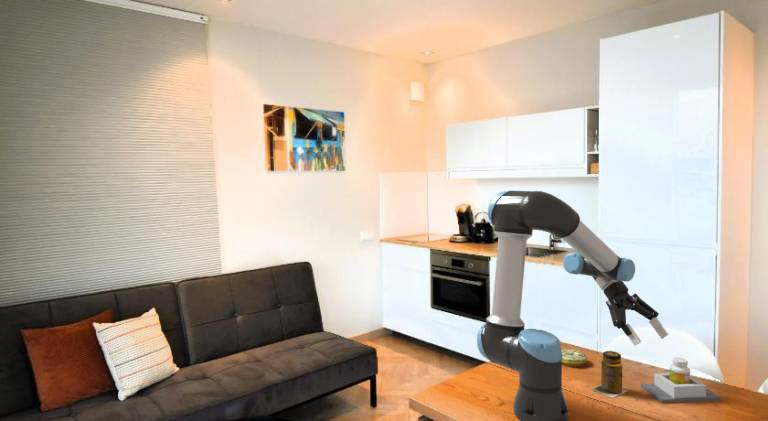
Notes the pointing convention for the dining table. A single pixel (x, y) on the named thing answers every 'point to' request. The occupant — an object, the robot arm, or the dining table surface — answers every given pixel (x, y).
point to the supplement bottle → (679, 371)
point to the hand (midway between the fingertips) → (651, 340)
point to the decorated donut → (573, 358)
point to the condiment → (611, 375)
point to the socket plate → (678, 390)
